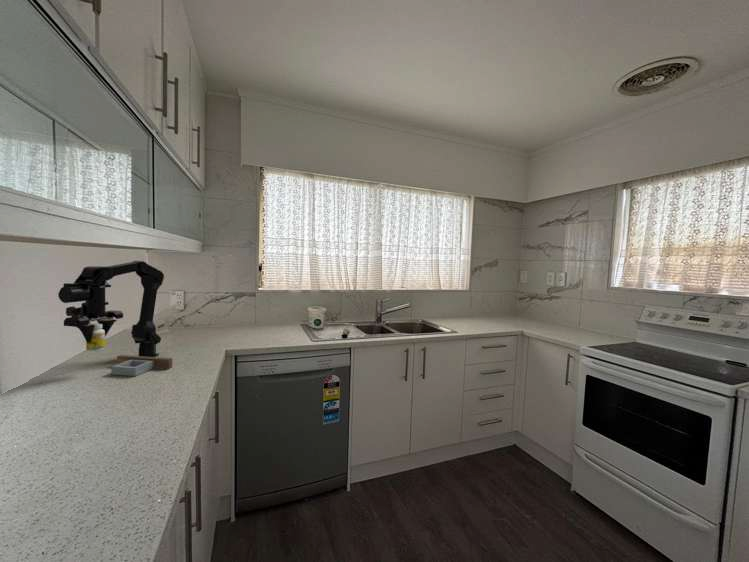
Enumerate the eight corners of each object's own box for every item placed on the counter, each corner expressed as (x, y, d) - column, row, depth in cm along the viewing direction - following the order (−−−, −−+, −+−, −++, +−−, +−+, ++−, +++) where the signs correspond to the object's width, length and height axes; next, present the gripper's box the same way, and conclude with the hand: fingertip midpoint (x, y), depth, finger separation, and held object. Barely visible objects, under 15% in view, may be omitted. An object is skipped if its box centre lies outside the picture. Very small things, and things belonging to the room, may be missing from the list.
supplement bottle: (108, 347, 123) (108, 323, 122) (98, 351, 117) (98, 326, 117) (93, 347, 122) (93, 323, 121) (82, 351, 117) (82, 326, 116)
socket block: (131, 366, 129) (131, 359, 128) (154, 367, 128) (154, 360, 128) (111, 374, 119) (111, 366, 119) (135, 376, 119) (135, 368, 119)
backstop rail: (121, 364, 131) (121, 355, 131) (172, 367, 130) (172, 358, 130) (116, 365, 129) (117, 356, 129) (168, 369, 128) (169, 359, 128)
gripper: (98, 296, 128) (98, 333, 129) (48, 301, 110) (49, 345, 111) (124, 297, 128) (124, 335, 129) (78, 303, 109) (79, 347, 110)
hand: (95, 340), depth 119 cm, fingers closed on supplement bottle, 5 cm apart
